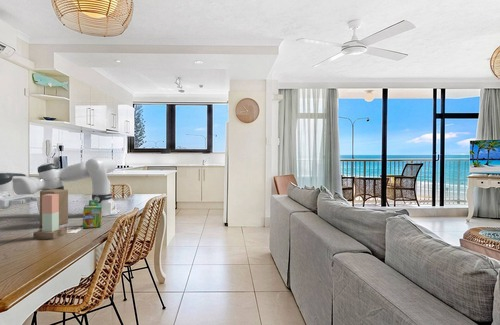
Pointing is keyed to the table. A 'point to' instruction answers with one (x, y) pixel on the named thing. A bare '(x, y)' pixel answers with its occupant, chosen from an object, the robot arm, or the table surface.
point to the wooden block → (62, 204)
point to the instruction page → (73, 229)
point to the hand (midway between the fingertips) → (29, 200)
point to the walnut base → (50, 234)
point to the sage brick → (50, 222)
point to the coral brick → (50, 203)
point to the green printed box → (92, 215)
